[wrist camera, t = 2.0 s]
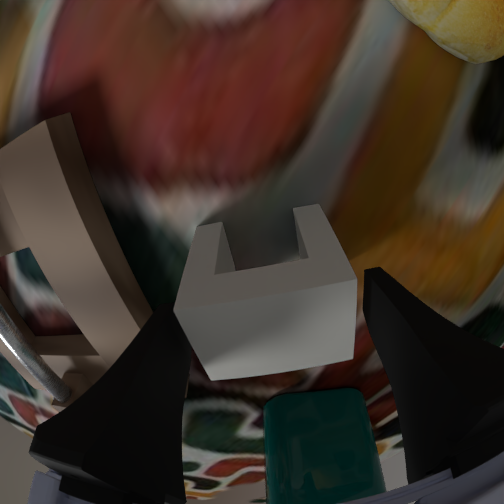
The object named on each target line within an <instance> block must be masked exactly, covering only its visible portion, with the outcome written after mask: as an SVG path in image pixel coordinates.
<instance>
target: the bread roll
mask: <svg viewBox="0 0 504 504" xmlns="http://www.w3.org/2000/svg"><path fill="white" fill-rule="evenodd" d="M389 1H390V2H391V4H392V5H393V6H394V7H395V8H396V9H397V10H398V11H399V12H400V13H401V14H402V15H403V16H404V17H405V18H407V19H408V20H409V21H411V22H412V23H414V24H415V25H417V26H418V27H420V28H421V29H422V30H424V31H425V32H426V33H427V34H428V36H429V37H430V38H431V39H432V40H433V41H434V42H435V43H436V44H437V45H439V46H440V47H441V48H443V49H444V50H446V51H447V52H449V53H451V54H452V55H454V56H456V57H458V58H460V59H463V60H465V61H467V62H469V63H473V64H480V63H485V62H488V61H492V60H496V59H498V58H499V57H502V56H503V55H504V0H389Z"/></svg>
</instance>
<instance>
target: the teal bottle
mask: <svg viewBox="0 0 504 504" xmlns="http://www.w3.org/2000/svg"><path fill="white" fill-rule="evenodd" d="M263 446H264V469H265V493H266V504H339V503H344V502H349V501H353V500H358V499H362V498H366V497H370V496H373V495H377V494H381V493H384V492H386V487H385V482H384V477H383V473H382V468H381V464H380V459H379V455H378V451H377V446H376V442H375V438H374V434H373V430H372V426H371V422H370V418H369V415H368V411H367V407H366V403H365V400H364V396H363V393H362V392H361V391H359V390H357V389H355V388H349V387H345V388H338V389H329V390H320V391H310V392H298V393H286V394H282V395H278V396H276V397H274V398H272V399H270V400H269V401H268V402H267V403H266V404H265V405H264V408H263Z"/></svg>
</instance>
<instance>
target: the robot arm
mask: <svg viewBox="0 0 504 504" xmlns="http://www.w3.org/2000/svg"><path fill="white" fill-rule="evenodd" d="M174 305H175V303H174V302H173V303H165V304H160V305H159V306H158V307H157V309H156V310H155V311H154V312H153V314H152V315H151V316H150V318H149V319H148V320H147V322H146V323H145V324H144V326H143V327H142V328H141V330H140V331H139V332H138V334H137V335H136V336H135V338H134V339H133V340H132V342H131V343H130V344H129V346H128V347H127V348H126V349H125V350H124V352H123V353H122V354H121V355H120V357H119V358H118V359H117V360H116V361H115V363H114V364H113V365H112V366H111V367H110V368H109V369H108V370H107V372H106V373H105V374H104V375H103V376H102V377H101V378H100V379H99V380H98V381H97V382H96V383H95V384H94V385H92V386H91V387H90V388H89V389H88V390H87V391H86V392H85V393H84V394H82V395H81V396H80V397H79V398H78V399H77V400H75V401H74V402H73V403H71V404H70V405H69V406H68V407H66V408H65V409H63V410H62V411H61V412H59V413H58V414H56V415H55V416H53V417H51V418H50V419H48V420H46V421H45V422H43V423H42V424H40V425H38V426H37V428H36V431H35V434H34V437H33V440H32V443H31V446H30V450H29V454H30V455H31V456H32V457H33V458H34V459H35V460H37V461H39V462H40V463H42V464H44V465H45V466H47V467H48V468H49V471H48V472H47V473H46V474H45V473H43V472H39V471H36V472H35V474H34V478H33V481H32V485H31V489H30V494H29V498H28V503H27V504H185V503H186V502H187V501H186V495H185V487H184V478H183V465H182V414H183V406H184V399H185V393H186V387H187V381H188V375H189V369H190V362H191V344H190V342H189V340H188V338H187V336H186V334H185V332H184V330H183V328H182V326H181V325H180V323H179V321H178V319H177V317H176V315H175V313H174V311H173V309H174ZM363 313H364V316H365V320H366V323H367V326H368V330H369V333H370V335H371V338H372V340H373V342H374V345H375V347H376V349H377V352H378V354H379V357H380V359H381V361H382V364H383V366H384V369H385V371H386V374H387V376H388V379H389V382H390V385H391V388H392V391H393V395H394V399H395V403H396V407H397V412H398V417H399V421H400V426H401V432H402V438H403V444H404V451H405V459H406V470H407V480H408V485H406V486H403V487H400V488H397V489H394V490H391V491H388V492H384V493H381V494H377V495H373V496H370V497H366V498H362V499H358V500H353V501H349V502H344V503H339V504H408V503H411V502H414V501H416V500H417V501H416V502H415V503H414V504H504V349H503V348H500V347H498V346H495V345H493V344H491V343H488V342H486V341H484V340H482V339H480V338H478V337H476V336H474V335H472V334H471V333H469V332H467V331H465V330H463V329H462V328H460V327H458V326H457V325H455V324H453V323H452V322H450V321H449V320H447V319H445V318H444V317H442V316H441V315H440V314H438V313H437V312H435V311H434V310H433V309H431V308H430V307H428V306H427V305H426V304H424V303H423V302H422V301H421V300H419V299H418V298H417V297H416V296H414V295H413V294H412V293H411V292H409V291H408V290H407V289H406V288H404V287H403V286H402V285H401V284H400V283H399V282H397V281H396V280H395V279H394V278H393V277H391V276H390V275H389V274H388V273H387V272H385V271H384V270H383V269H382V268H381V267H375V268H371V269H366V270H364V293H363ZM53 400H54V398H53Z"/></svg>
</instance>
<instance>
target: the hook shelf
mask: <svg viewBox="0 0 504 504" xmlns="http://www.w3.org/2000/svg"><path fill="white" fill-rule="evenodd" d="M27 247H30V249H31V251H32V253H33V255H34V257H35V258H36V260H37V262H38V264H39V266H40V267H41V269H42V271H43V273H44V274H45V276H46V278H47V280H48V281H49V283H50V285H51V286H52V288H53V289H54V291H55V293H56V294H57V296H58V297H59V299H60V301H61V302H62V304H63V305H64V307H65V308H66V310H67V311H68V313H69V314H70V316H71V317H72V318H73V320H74V321H75V323H76V324H77V326H78V327H79V328H80V330H81V331H82V333H83V334H80V335H59V336H35V335H34V334H33V332H32V331H31V330H30V328H29V327H28V326H27V324H26V323H25V322H24V320H23V319H22V317H21V316H20V315H19V313H18V312H17V310H16V309H15V307H14V306H13V304H12V303H11V301H10V300H9V298H8V297H7V295H6V294H5V292H4V291H3V289H2V288H1V286H0V304H1V305H2V307H3V308H4V310H5V311H6V313H7V314H8V315H9V317H10V318H11V320H12V321H13V322H14V324H15V325H16V326H17V328H18V329H19V330H20V332H21V333H22V334H23V335H24V337H25V338H26V339H27V341H28V342H29V343H30V344H31V345H32V347H33V348H34V349H35V350H36V351H37V353H38V354H39V355H40V356H41V357H42V358H43V360H44V361H45V362H46V363H47V364H48V365H49V366H50V368H51V369H52V370H53V371H54V372H55V373H56V374H57V375H58V376H59V377H60V378H61V379H62V380H63V381H64V382H65V383H66V384H67V385H68V386H69V387H70V388H71V390H72V396H71V398H70V399H69V400H68V401H67V402H65V403H60V402H59V401H58V400H57V399H56V398H55V397H54V400H53V402H52V406H53V407H54V408H55V409H57V410H58V411H59V412H61V411H62V410H63V409H65V408H66V407H68V406H69V405H70V404H71V403H73V402H74V401H75V400H77V399H78V398H79V397H80V396H81V395H82V394H84V393H85V392H86V391H87V390H88V389H89V388H90V387H91V386H92V385H94V384H95V383H96V382H97V381H98V380H99V379H100V378H101V377H102V376H103V375H104V374H105V373H106V372H107V370H108V369H109V368H110V367H111V366H112V365H113V364H114V363H115V361H116V360H117V359H118V358H119V357H120V355H121V354H122V353H123V352H124V350H125V349H126V348H127V347H128V346H129V344H130V343H131V342H132V340H133V339H134V338H135V336H136V335H137V334H138V332H139V331H140V330H141V328H142V327H143V326H144V324H145V323H146V322H147V320H148V319H149V318H150V316H151V315H152V314H153V311H152V309H151V307H150V305H149V304H148V302H147V300H146V298H145V296H144V294H143V292H142V290H141V288H140V286H139V284H138V282H137V280H136V278H135V276H134V274H133V272H132V270H131V268H130V266H129V264H128V262H127V260H126V258H125V256H124V254H123V252H122V249H121V247H120V245H119V243H118V241H117V238H116V236H115V234H114V232H113V229H112V227H111V225H110V222H109V220H108V218H107V215H106V213H105V211H104V208H103V206H102V203H101V201H100V198H99V196H98V193H97V191H96V188H95V185H94V183H93V180H92V177H91V175H90V172H89V169H88V166H87V163H86V161H85V158H84V155H83V152H82V149H81V146H80V143H79V140H78V137H77V133H76V130H75V127H74V124H73V120H72V117H71V113H70V112H69V113H66V114H62V115H59V116H56V117H53V118H50V119H47V120H44V121H43V122H41V123H39V124H38V125H36V126H34V127H33V128H31V129H29V130H28V131H26V132H25V133H23V134H22V135H20V136H19V137H17V138H16V139H14V140H13V141H11V142H10V143H8V144H7V145H5V146H4V147H3V148H1V149H0V257H1V256H4V255H7V254H10V253H12V252H15V251H18V250H21V249H24V248H27ZM0 352H1V353H2V354H3V355H4V357H5V358H6V359H7V360H8V361H9V362H10V363H11V364H12V366H13V367H14V368H15V369H16V370H17V371H18V372H19V373H20V374H21V375H22V376H23V377H24V378H25V379H26V380H27V381H28V382H29V383H30V384H31V385H32V386H33V387H34V388H35V389H41V390H46V389H45V388H44V387H43V386H42V385H41V384H40V383H39V382H38V381H37V380H36V379H35V378H34V377H33V376H32V375H31V374H30V372H29V371H28V370H27V369H26V368H25V367H24V366H23V365H22V364H21V363H20V362H19V360H18V359H17V358H16V357H15V356H14V355H13V353H12V352H11V351H10V350H9V349H8V348H7V346H6V345H5V344H4V343H3V341H2V340H1V339H0ZM189 376H190V374H189V375H188V381H187V387H186V393H185V397H187V390H188V383H189Z"/></svg>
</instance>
